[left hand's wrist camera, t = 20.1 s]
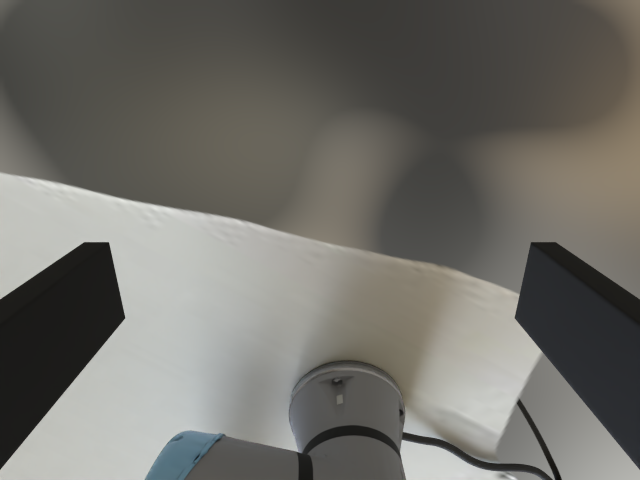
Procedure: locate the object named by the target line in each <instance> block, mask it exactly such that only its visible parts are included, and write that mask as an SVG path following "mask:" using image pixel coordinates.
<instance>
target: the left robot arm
mask: <svg viewBox="0 0 640 480" xmlns="http://www.w3.org/2000/svg"><path fill="white" fill-rule="evenodd" d="M124 319H125V315H124V310H123V306H122V301H121V296H120V292H119V287H118V282H117V278H116V273H115V268H114V264H113V259H112V254H111V250H110V245H109V242H84V243H83V244H81V245H80V246H78V247H77V248H75V249H74V250H72V251H71V252H69V253H68V254H66V255H65V256H63V257H62V258H61V259H59V260H58V261H56V262H55V263H53V264H52V265H50V266H49V267H47V268H46V269H44V270H43V271H41V272H40V273H38V274H37V275H36V276H34V277H33V278H31V279H30V280H28V281H27V282H25V283H24V284H22V285H21V286H19V287H18V288H16V289H15V290H13V291H12V292H11V293H9V294H8V295H6V296H5V297H3V298H2V299H0V469H1V468H2V467H3V466H4V464H5V463H6V462H7V461H8V460H9V458H10V457H11V456H12V455H13V454H14V452H15V451H16V450H17V449H18V447H19V446H20V445H21V444H22V443H23V441H24V440H25V439H26V438H27V437H28V435H29V434H30V433H31V432H32V430H33V429H34V428H35V427H36V426H37V424H38V423H39V422H40V421H41V420H42V418H43V417H44V416H45V415H46V414H47V412H48V411H49V410H50V409H51V407H52V406H53V405H54V404H55V403H56V401H57V400H58V399H59V398H60V397H61V395H62V394H63V393H64V392H65V391H66V389H67V388H68V387H69V386H70V384H71V383H72V382H73V381H74V380H75V378H76V377H77V376H78V375H79V374H80V372H81V371H82V370H83V369H84V367H85V366H86V365H87V364H88V363H89V361H90V360H91V359H92V358H93V357H94V355H95V354H96V353H97V352H98V351H99V349H100V348H101V347H102V346H103V344H104V343H105V342H106V341H107V340H108V338H109V337H110V336H111V335H112V334H113V332H114V331H115V330H116V329H117V327H118V326H119V325H120V324H121V323H122V321H123V320H124ZM515 319H516V320H517V321H518V323H519V324H520V325H521V326H522V327H523V329H524V330H525V331H526V332H527V334H528V335H529V336H530V337H531V338H532V340H533V341H534V342H535V343H536V344H537V346H538V347H539V348H540V349H541V351H542V352H543V353H544V354H545V355H546V357H547V358H548V359H549V360H550V361H551V363H552V364H553V365H554V366H555V367H556V369H557V370H558V371H559V372H560V374H561V375H562V376H563V377H564V378H565V380H566V381H567V382H568V383H569V384H570V386H571V387H572V388H573V389H574V391H575V392H576V393H577V394H578V395H579V397H580V398H581V399H582V400H583V401H584V403H585V404H586V405H587V406H588V407H589V409H590V410H591V411H592V412H593V414H594V415H595V416H596V417H597V418H598V420H599V421H600V422H601V423H602V424H603V426H604V427H605V428H606V429H607V431H608V432H609V433H610V434H611V435H612V437H613V438H614V439H615V440H616V441H617V443H618V444H619V445H620V446H621V447H622V449H623V450H624V451H625V452H626V454H627V455H628V456H629V457H630V458H631V460H632V461H633V462H634V463H635V464H636V466H637V467H638V468H639V469H640V299H638V298H637V297H635V296H634V295H632V294H631V293H629V292H628V291H627V290H625V289H623V288H622V287H621V286H619V285H618V284H616V283H615V282H613V281H612V280H610V279H609V278H607V277H606V276H604V275H603V274H602V273H600V272H599V271H597V270H596V269H594V268H593V267H591V266H590V265H588V264H587V263H585V262H584V261H582V260H581V259H579V258H578V257H577V256H575V255H574V254H572V253H571V252H569V251H568V250H566V249H565V248H563V247H562V246H560V245H559V244H557V243H556V242H531V245H530V250H529V254H528V259H527V264H526V268H525V273H524V278H523V282H522V287H521V292H520V296H519V301H518V306H517V310H516V315H515ZM516 403H517V405H518V407H519V408H520V410H521V412H522V413H523V415H524V417H525V418H526V420H527V422H528V424H529V425H530V427H531V429H532V431H533V433H534V435H535V437H536V439H537V441H538V443H539V444H540V447H541V449H542V451H543V453H544V455H545V457H546V459H547V461H548V464H549V466H550V468H551V470H552V473H553V475H554V478H555V480H562V478H561V476H560V473H559V471H558V468H557V466H556V464H555V462H554V460H553V458H552V456H551V454H550V452H549V450H548V447H547V446H546V443H545V442H544V440H543V438H542V436H541V434H540V432H539V430H538V428H537V427H536V425H535V423H534V421H533V420H532V418H531V416H530V415H529V413H528V411H527V410H526V408H525V406H524V405H523V403H522V402H521V400H520V399H519V397H518V399H517V401H516ZM404 420H405V407H404V403H403V399H402V395H401V392H400V389H399V387H398V386H397V384H396V383H395V381H394V380H393V379H392V378H391V377H390V376H389V375H388V374H387V373H385V372H384V371H382V370H381V369H379V368H377V367H375V366H372V365H369V364H366V363H361V362H354V361H340V362H334V363H329V364H326V365H323V366H320V367H318V368H316V369H314V370H312V371H311V372H309V373H308V374H307V375H305V376H304V377H303V378H302V379H301V380H300V381H299V382H298V384H297V385H296V387H295V388H294V390H293V393H292V395H291V399H290V408H289V422H290V426H291V429H292V432H293V434H294V436H295V440H296V444H297V447H298V451H299V453H298V452H295V451H290V450H286V449H281V448H276V447H272V446H267V445H262V444H258V443H253V442H248V441H244V440H239V439H235V438H231V437H226V436H225V434H221V433H219V434H217V435H216V434H209V433H203V432H196V431H184V432H181V433H179V434H177V435H176V436H174V437H173V438H172V439H171V440H170V441H169V442H168V443H167V445H166V446H165V447H164V449H163V450H162V451H161V453H160V454H159V456H158V457H157V459H156V461H155V462H154V464H153V466H152V467H151V469H150V471H149V473H148V475H147V476H146V478H145V480H406V478H405V473H404V469H403V465H402V460H401V455H400V448H401V441H402V440H406V441H410V442H415V443H420V444H426V445H433V446H437V447H441V448H443V449H445V450H448V451H449V452H451V453H453V454H455V455H456V456H458V457H459V458H461V459H462V460H464V461H465V462H467V463H469V464H471V465H473V466H476V467H478V468H482V469H486V470H491V471H519V472H528V473H532V474H535V475H537V476H538V477H540V478H541V479H542V480H552V479H551V478H550V477H549V476H548V475H547V474H546V473H545V472H543V471H542V470H540V469H538V468H536V467H533V466H529V465H524V464H496V463H487V462H483V461H480V460H477V459H475V458H473V457H471V456H469V455H468V454H466V453H464V452H463V451H461V450H460V449H458V448H457V447H455V446H454V445H452V444H450V443H448V442H445V441H443V440H440V439H435V438H430V437H423V436H418V435H413V434H409V433H405V432H403V427H404Z"/></svg>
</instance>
